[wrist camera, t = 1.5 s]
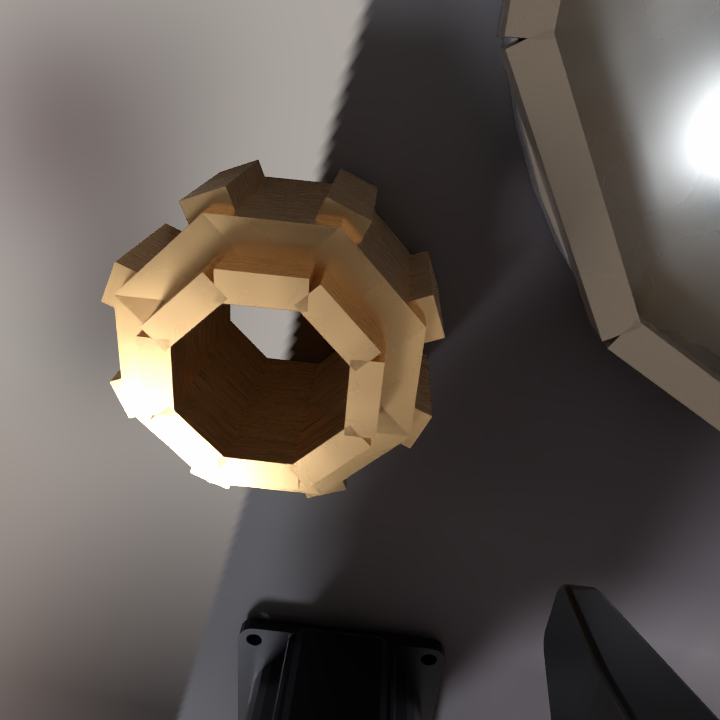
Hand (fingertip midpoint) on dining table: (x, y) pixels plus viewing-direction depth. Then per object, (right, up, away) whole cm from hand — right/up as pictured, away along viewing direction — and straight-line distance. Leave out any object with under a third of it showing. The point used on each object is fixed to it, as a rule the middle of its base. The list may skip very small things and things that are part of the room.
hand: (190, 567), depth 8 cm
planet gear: (0, +4, +8) cm, 9 cm away
